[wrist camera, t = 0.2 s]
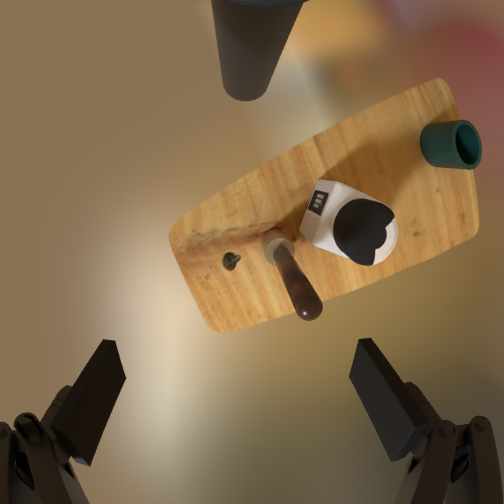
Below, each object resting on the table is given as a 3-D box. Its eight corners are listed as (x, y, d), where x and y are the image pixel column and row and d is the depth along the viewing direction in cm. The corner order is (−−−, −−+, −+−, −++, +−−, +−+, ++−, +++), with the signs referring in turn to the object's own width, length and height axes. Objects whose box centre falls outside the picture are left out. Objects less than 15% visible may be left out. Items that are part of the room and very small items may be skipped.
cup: (419, 119, 34) (451, 114, 26) (449, 129, 34) (481, 126, 26) (419, 163, 36) (452, 164, 28) (449, 170, 36) (481, 173, 28)
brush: (261, 229, 37) (288, 290, 18) (288, 229, 38) (339, 289, 18) (261, 254, 38) (285, 336, 19) (286, 254, 39) (332, 333, 19)
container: (297, 230, 38) (326, 260, 25) (317, 178, 36) (357, 182, 23) (344, 248, 39) (387, 282, 26) (364, 199, 37) (416, 214, 24)
